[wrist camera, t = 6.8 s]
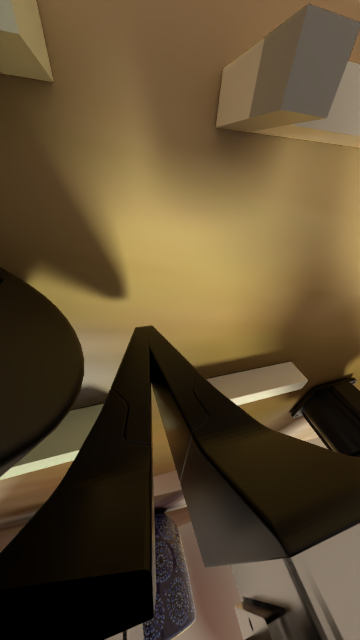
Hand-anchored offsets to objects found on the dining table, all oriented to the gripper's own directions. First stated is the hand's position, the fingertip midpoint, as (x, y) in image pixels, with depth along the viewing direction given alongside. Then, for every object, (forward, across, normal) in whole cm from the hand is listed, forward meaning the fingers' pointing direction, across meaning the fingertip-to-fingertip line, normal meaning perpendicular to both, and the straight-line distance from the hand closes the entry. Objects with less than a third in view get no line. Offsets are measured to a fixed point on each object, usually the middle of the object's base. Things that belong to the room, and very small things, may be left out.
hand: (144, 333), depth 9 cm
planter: (+2, +3, +57) cm, 57 cm away
